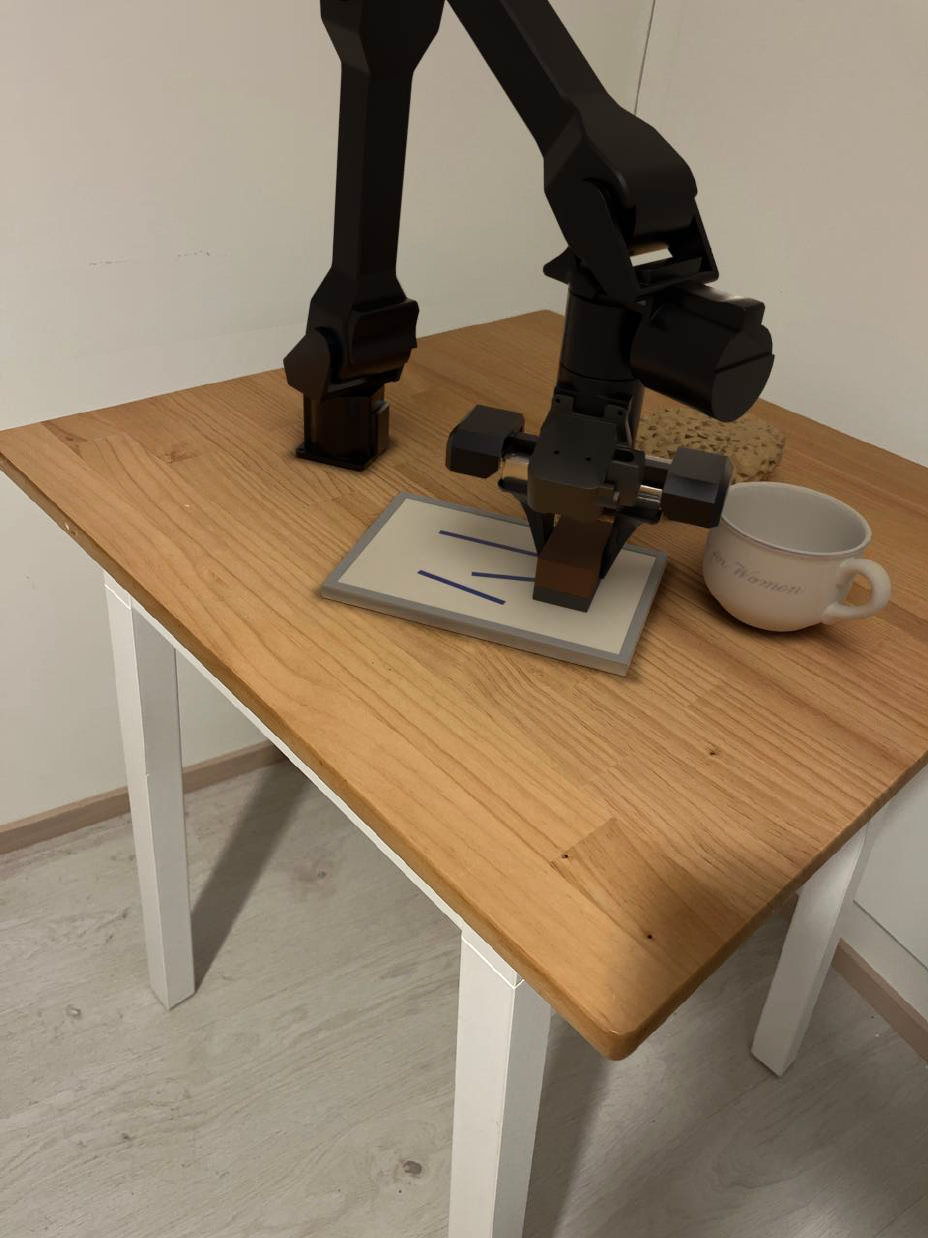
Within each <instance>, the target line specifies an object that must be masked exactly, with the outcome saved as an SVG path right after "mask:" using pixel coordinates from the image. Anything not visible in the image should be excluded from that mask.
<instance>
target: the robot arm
mask: <svg viewBox="0 0 928 1238" xmlns="http://www.w3.org/2000/svg"><path fill="white" fill-rule="evenodd" d="M446 2H447V3H448V5H449V6H450V8H451V9H452V11H453V13H454V14H455V16H456V17H457V19H458V20H459V22H460V24H461V26H462V27H463V28H464V31H465V32H466V33H467V35H468V37H469V38H470V39H471V42H472V43H473V44H474V46H475V48H476V49H477V51H478V53H479V54H480V56H481V57H482V58H483V60H484V62H485V64H486V65H487V67H488V68H489V70H490V72H491V73H492V75H493V77H494V78H495V80H496V81H497V82H498V85H499V86H500V88H501V89H502V90H503V92H504V94H505V95H506V97H507V99H508V100H509V102H510V103H511V105H512V107H513V108H514V110H515V111H516V113H517V115H518V116H519V117H520V120H521V121H522V122H523V124H524V125H525V127H526V129H527V131H528V132H529V133H530V135H531V137H532V138H533V140H534V142H535V144H536V145H537V148H538V150H539V152H540V155H541V157H542V160H543V163H542V165H543V193H544V197H545V198H546V200H547V204H548V206H549V208H550V209H551V211H552V214H553V216H554V218H555V221H556V223H557V225H558V227H559V229H560V231H561V234H562V236H563V238H564V240H565V243H566V244H567V247H566V248H565V249H564V250H563V251H562V252H560V254H558V255H557V256H555V257H554V258H552V259H551V260H550V261H548V262H546V263H544V264H543V266H542V273H543V275H544V276H546V277H547V278H550V279H553V280H555V281H557V282H560V283H562V284H565V285H567V286H568V287H567V293H566V302H565V312H564V318H563V324H562V325H563V327H562V333H561V334H562V335H561V342H560V351H559V357H558V366H557V372H556V373H557V374H556V381H555V386H554V387H553V394H552V397H551V402H550V409H549V411H548V413H547V415H546V417H545V419H544V421H543V422H542V425H541V427H540V429H539V435H537V434H531V433H527V432H525V427H526V426H525V425H526V419H525V416H524V413H520V412H516V411H511V410H507V409H502V408H496V407H492V406H487V405H482V404H478V403H477V404H476V405H474V407H472V408H470V409H469V410H467V412H466V413H465V414H464V416H462V418H461V420H460V421H458V422H457V424H455V426H454V428H453V429H452V430H451V431H450V432H449V434H448V438H447V441H446V444H445V458H444V467H445V468H446V470H448V471H449V472H451V473H457V474H462V475H465V476H470V477H475V478H479V479H484V480H486V479H488V478H490V477H491V476H493V475H494V474H496V473H497V472H499V470H500V469H501V464H502V472H501V476H500V478H499V480H498V481H497V488H498V489H499V490H500V492H503V493H507V494H509V495H511V496H512V497H514V498H515V499H516V500H517V501H518V502H519V503H520V506H521V507H522V508H521V509H522V510H523V513H524V514H525V517H526V520H528V523H529V526H530V530H531V534H532V537H533V541H534V544H535V548H536V552H537V555H538V556H539V555H540V553H541V551H542V549H543V547H544V546H545V544H546V542H547V540H548V538H549V536H550V535H551V533H552V531H553V529H554V527H555V518H556V516H555V515H559V516H561V515H562V516H567V517H571V518H574V519H575V520H576V521H579V522H585V523H589V522H594V521H596V520H600V519H601V517H602V516H603V513H604V511H605V508H606V509H612V510H615V513H614V517H613V522H612V523H613V526H612V529H611V532H610V535H609V538H608V541H607V544H606V547H605V550H604V553H603V556H602V559H601V565H600V573H599V579H604V578H605V576H606V575H607V573H608V571H609V570H610V568H611V566H612V564H613V563H614V561H615V559H616V558H617V556H618V554H619V552H620V551H621V549H622V547H623V546H624V544H625V543H627V541H628V540H629V539H630V537H631V536H632V535H633V534H634V533H635V531H636V530H638V528H639V527H641V526H642V525H645V524H646V525H651V526H655V525H658V524H659V523H661V522H662V518H663V516H664V515H665V516H666V518H667V519H668V520H669V521H672V522H677V523H681V524H685V525H690V526H694V527H700V528H704V529H708V530H709V528H714V527H718V526H719V522H720V519H721V516H722V512H723V509H724V505H725V502H726V499H727V495H728V492H729V488H730V484H731V479H732V475H733V471H734V465H733V464H732V462H731V460H730V458H729V457H728V456H725V455H721V454H716V453H711V452H706V451H701V450H696V449H691V448H687V447H682V446H678V448H677V451H676V453H675V456H674V458H673V461H672V460H667V459H662V458H657V457H652V456H645V452H644V451H642V450H637V449H635V445H636V439H637V433H638V428H639V422H640V417H642V415H641V414H642V411H643V405H644V399H645V393H646V389H648V390H650V391H653V392H655V393H657V394H660V395H662V396H664V397H665V398H668V399H670V400H673V401H674V402H677V403H679V404H681V405H684V406H685V407H689V408H692V409H694V410H697V411H699V412H701V413H703V414H705V415H708V416H710V417H712V418H714V419H716V420H718V421H721V422H723V423H727V422H733V421H735V420H737V419H738V418H740V417H741V416H743V415H744V414H745V413H748V411H749V410H750V409H751V408H752V407H753V406H754V405H755V403H756V402H757V401H758V400H759V397H760V396H761V395H762V392H763V391H764V389H765V388H766V385H767V383H768V381H769V379H770V376H771V373H772V371H773V368H774V362H775V358H776V355H775V354H774V353H773V348H774V347H773V345H774V343H773V338H772V334H771V332H770V330H769V328H768V327H767V326H766V325H764V324H763V320H764V315H765V312H766V305H765V303H764V301H760V300H758V299H755V298H752V297H750V296H746V295H745V296H744V295H735V294H732V293H729V292H726V291H723V290H721V289H717V288H715V287H712V286H709V285H708V284H711V283H714V282H717V281H718V280H719V278H720V272H719V268H718V265H717V262H716V259H715V256H714V253H713V248H712V246H711V243H710V240H709V238H708V234H707V232H706V228H705V225H704V222H703V219H702V216H701V213H700V209H699V207H698V204H697V201H696V197H697V196H698V191H699V190H698V186H697V181H696V178H695V175H694V173H693V170H692V169H691V167H690V165H689V164H688V162H686V160H685V159H684V158H683V157H682V156H681V155H680V153H679V152H678V151H677V150H676V149H675V148H674V147H673V146H672V144H670V143H669V142H668V141H667V140H666V139H665V137H664V136H663V135H662V134H661V133H660V132H659V131H658V130H657V128H655V127H654V126H653V125H651V124H650V123H648V122H646V121H645V120H643V119H642V118H640V117H638V116H637V115H635V114H634V113H632V112H630V111H629V110H627V109H626V108H624V107H622V106H621V105H620V104H619V103H618V102H617V101H616V100H615V99H614V97H613V96H611V94H609V92H608V91H607V89H606V88H605V86H604V85H603V83H602V82H601V80H600V78H599V77H598V75H597V74H596V72H595V71H594V69H593V68H592V66H591V64H590V63H589V61H588V60H587V59H586V56H585V55H584V54H583V52H582V50H581V49H580V47H579V46H578V44H577V43H576V41H575V40H574V38H573V37H572V35H571V34H570V32H569V31H568V29H567V27H566V25H565V24H564V23H563V21H562V19H561V18H560V17H559V15H558V13H557V12H556V10H555V9H554V7H553V6H552V4H551V3H550V1H549V0H319V12H320V13H319V14H320V19H321V23H322V24H323V27H324V29H325V31H326V33H327V35H328V37H329V40H330V42H331V43H332V46H333V47H334V50H335V52H336V54H337V56H338V58H339V61H340V89H339V107H338V109H339V110H338V133H337V148H336V149H337V152H336V173H335V193H334V210H333V211H334V212H333V213H334V215H333V233H332V255H331V264H330V268H329V269H328V271H327V273H326V274H325V276H324V277H323V279H322V281H321V282H320V284H319V285H318V287H317V288H316V290H315V292H314V293H313V295H312V297H311V298H310V302H309V307H308V313H307V320H306V327H305V332H304V333H305V334H304V335H303V337H302V338H300V340H299V341H297V343H296V344H295V345H294V346H293V348H292V349H291V350H290V351H289V352H288V353H287V354H286V356H284V357H283V359H282V365H283V369H284V373H285V378H286V382H287V385H288V386H289V387H291V388H293V389H294V390H295V391H298V392H299V393H301V394H302V404H303V405H302V409H303V411H302V413H303V415H302V416H303V418H302V419H303V441H302V442H301V443H300V444H299V445H298V446H297V447H295V455H296V456H297V457H299V458H300V457H301V458H305V459H309V460H314V461H318V462H323V463H327V464H330V465H334V466H340V467H344V468H348V469H352V470H356V471H363V470H366V469H367V468H368V466H369V465H370V464H371V463H372V462H373V461H374V460H375V459H376V458H377V457H378V456H379V455H380V454H381V453H382V452H383V451H384V450H385V449H386V448H387V447H388V445H389V444H390V443H391V436H390V407H391V405H390V403H389V401H385V394H386V393H385V387H386V384H390V383H397V382H400V380H401V377H402V374H403V371H404V368H405V365H406V364H407V363H408V362H409V359H410V358H411V355H412V350H413V349H417V348H418V340H417V324H418V320H419V317H420V316H419V315H420V311H421V310H420V309H421V308H420V306H419V302H418V301H417V300H416V299H412V298H409V296H408V295H407V292H406V291H405V289H404V287H403V284H402V283H401V281H400V279H399V277H398V274H397V264H398V263H397V261H398V250H399V241H400V239H399V238H400V230H401V229H400V228H401V219H402V218H401V217H402V206H403V205H402V204H403V195H404V183H405V182H404V181H405V170H406V160H407V159H406V158H407V147H408V135H409V126H410V125H409V124H410V113H411V104H412V103H411V102H412V91H413V80H414V74H415V71H416V69H417V68H418V66H419V64H420V63H421V61H422V59H423V58H424V57H425V55H426V53H427V52H428V49H429V48H430V46H431V45H432V43H433V41H434V40H435V38H436V36H437V35H438V33H439V30H440V27H441V22H442V18H443V13H444V8H445V4H446ZM663 250H667V251H668V252H669V254H670V255H671V256H669V257H666V258H662V259H658V260H657V259H656V260H653V261H649V262H645V263H640V264H636V265H633V262H632V258H634V257H639V256H643V255H647V254H652V253H657V252H660V251H663ZM618 505H619V506H618Z"/></svg>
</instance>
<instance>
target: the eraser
mask: <svg viewBox="0 0 928 1238" xmlns="http://www.w3.org/2000/svg"><path fill="white" fill-rule="evenodd" d="M612 526H613V522H610V521H605V520H601V519H598V520H596V521H594V522H589V523H585V522H579V521H576V520H575V519H574V518H571V517H567V516H562V515H560V516H559V518H558V520H557V523H556V524H555V525H554V529H553V531H552V533H551V535H550V536H549V538H548V540H547V542H546V544H545V546H544V547H543V549H542V551H541V553H540V555H539V556H538V558H537V566H536V574H535V582H534V590H533V597H532V598H533V600H537V601H541V602H545V603H549V604H553V605H557V606H561V607H566V608H570V609H574V610H578V611H582V612H586V613H587V611H588V609H589V607H590V605H591V602H592V600H593V598H594V596H595V593H596V591H597V589H598V587H599V584H600V582H601V580H602V579H599V573H600V565H601V559H602V556H603V553H604V550H605V547H606V544H607V541H608V538H609V535H610V532H611V529H612Z"/></svg>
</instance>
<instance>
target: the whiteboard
mask: <svg viewBox="0 0 928 1238" xmlns="http://www.w3.org/2000/svg"><path fill="white" fill-rule="evenodd" d="M669 554H670V553H668V552H664V551H661V550H657V549H652V548H648V547H643V546H639V545H635V544H630V543H627V542H626V543H625V544H624V546H623V547H622V549H621V551H620V552H619V554H618V556H617V558H616V559H615V561H614V563H613V564H612V566H611V568H610V570H609V571H608V573H607V575H606V576H605V578H604V579H602V580H601V582H600V584H599V587H598V589H597V591H596V593H595V596H594V598H593V600H592V602H591V605H590V607H589V609H588V611H587V613H586V612H582V611H578V610H574V609H570V608H566V607H561V606H557V605H553V604H549V603H545V602H541V601H537V600H533V598H532V597H533V590H534V582H535V574H536V566H537V558H538V555H537V552H536V548H535V544H534V541H533V537H532V534H531V530H530V526H529V523H528V520H527V519H524V518H519V517H515V516H511V515H507V514H503V513H498V512H494V511H489V510H486V509H481V508H476V507H472V506H468V505H465V504H459V503H456V502H452V501H448V500H443V499H439V498H434V497H430V496H426V495H422V494H417V493H413V492H408V491H404V490H400V491H399V492H398V494H397V495H396V496H395V497H394V498H393V499H392V500H391V502H390V503H389V504H388V505H387V507H386V508H384V510H383V511H382V512H381V514H380V515H379V516H378V517H377V518H376V520H375V521H374V522H373V523H372V524H371V525H370V527H368V529H367V530H366V531H365V533H364V534H363V535H362V536H361V537H360V538H359V539H358V540H357V542H356V543H355V544H354V545H353V546H352V547H351V549H350V550H349V551H348V553H346V554H345V556H344V557H343V558H342V559H341V560H340V562H339V563H338V564H337V565H336V566H335V567H334V569H333V570H332V571H331V572H330V573H329V575H328V576H327V577H326V578H325V579H324V581H322V583H321V598H324V599H327V600H332V601H335V602H339V603H341V604H347V605H350V606H355V607H359V608H362V609H366V610H370V611H373V612H376V613H381V614H385V615H389V616H392V617H396V618H400V619H403V620H408V621H412V622H415V623H418V624H423V625H427V626H431V627H434V628H438V629H441V630H445V631H448V632H452V633H457V634H461V635H465V636H468V637H472V638H476V639H479V640H484V641H487V642H491V643H495V644H499V645H503V646H507V647H509V648H514V649H518V650H521V651H525V652H528V653H533V654H537V655H540V656H544V657H548V658H552V659H555V660H559V661H563V662H567V663H571V664H574V665H579V666H583V667H585V668H590V669H594V670H596V671H601V672H605V673H608V674H613V675H616V676H620V677H624V678H625V677H626V676H627V674H628V671H629V669H630V666H631V663H632V660H633V658H634V655H635V653H636V649H637V647H638V644H639V642H640V638H641V636H642V633H643V630H644V628H645V624H646V622H647V619H648V617H649V613H650V611H651V608H652V606H653V602H654V600H655V597H656V594H657V592H658V589H659V587H660V584H661V581H662V578H663V575H664V572H665V570H666V567H667V563H668V560H669Z"/></svg>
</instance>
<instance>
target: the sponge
mask: <svg viewBox="0 0 928 1238" xmlns="http://www.w3.org/2000/svg"><path fill="white" fill-rule="evenodd" d="M678 446H682V447H687V448H691V449H696V450H701V451H706V452H711V453H716V454H721V455H725V456H728V457H729V458H730V460H731V462H732V464H733V465H734V471H733V475H732V479H731V484H730V486H731V485H735V484H737V483H742V482H762V481H764V480H765V479H767V478H769V476H771V475H772V474H774V473H775V471H776V469H777V468H778V467H779V466H780V464H781V462H782V460H783V458H784V454H785V453H786V452H787V450H785V446H786V434H785V432H784V431H783V430H781V429H779V428H778V427H776V426H775V425H774V424H772V423H770V422H769V421H766V420H763V418H758V417H757V415H754V414H752V413H749V412H746V413H745V414H744V415H743V416H741V417H740V418H738V419H737V420H735V421H733V422H727V423H723V422H721V421H718V420H716V419H714V418H712V417H710V416H708V415H705V414H703V413H701V412H699V411H697V410H694V409H692V408H690V407H688V406H685V407H681V408H675V407H674V408H665V409H664V411H663V410H660V411H657V412H656V413H655V412H651V413H646V414H644V415H641V416H640V422H639V428H638V433H637V439H636V445H635V449H637V450H642V451H644V452H645V456H652V457H657V458H662V459H667V460H672V461H673V458H674V456H675V453H676V451H677V448H678ZM618 506H619V505H618Z"/></svg>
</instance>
